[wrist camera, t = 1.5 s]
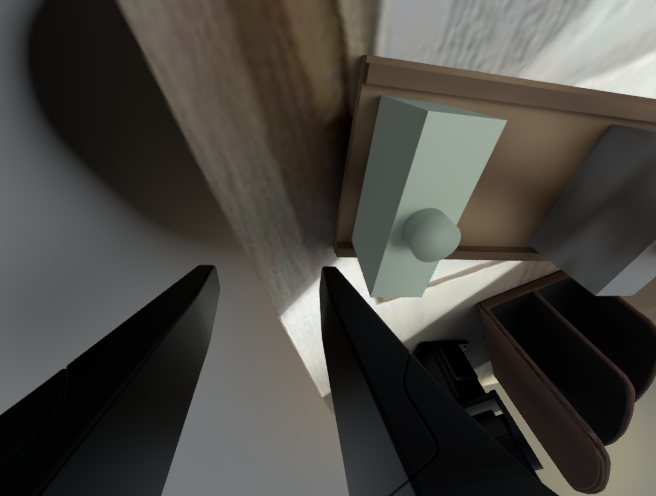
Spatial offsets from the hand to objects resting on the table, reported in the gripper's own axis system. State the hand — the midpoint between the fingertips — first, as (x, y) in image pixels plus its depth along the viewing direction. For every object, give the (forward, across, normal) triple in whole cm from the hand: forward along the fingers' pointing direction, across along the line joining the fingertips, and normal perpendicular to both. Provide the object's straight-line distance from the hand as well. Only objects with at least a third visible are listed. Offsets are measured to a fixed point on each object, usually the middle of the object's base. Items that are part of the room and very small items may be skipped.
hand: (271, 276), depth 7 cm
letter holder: (+10, -30, +18) cm, 37 cm away
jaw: (+9, -7, 0) cm, 11 cm away
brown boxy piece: (+10, -14, 0) cm, 17 cm away
